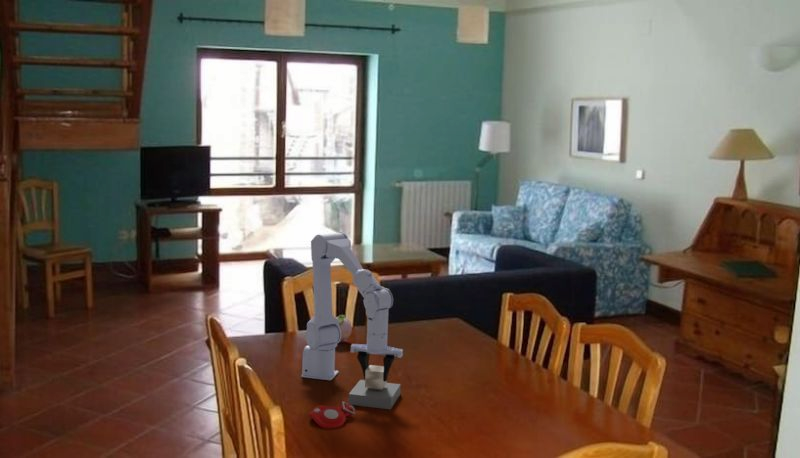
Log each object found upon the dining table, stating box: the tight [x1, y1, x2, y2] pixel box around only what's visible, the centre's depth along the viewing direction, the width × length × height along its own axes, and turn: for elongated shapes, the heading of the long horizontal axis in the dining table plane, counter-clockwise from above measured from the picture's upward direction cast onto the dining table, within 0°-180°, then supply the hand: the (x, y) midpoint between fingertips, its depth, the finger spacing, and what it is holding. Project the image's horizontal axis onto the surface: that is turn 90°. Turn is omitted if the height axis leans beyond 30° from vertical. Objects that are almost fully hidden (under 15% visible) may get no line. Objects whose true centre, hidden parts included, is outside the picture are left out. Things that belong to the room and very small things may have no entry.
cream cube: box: [364, 364, 388, 390], centre depth 225 cm, size 5×5×5 cm
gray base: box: [347, 379, 402, 410], centre depth 225 cm, size 12×12×3 cm
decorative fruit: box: [334, 314, 353, 343], centre depth 276 cm, size 9×8×10 cm
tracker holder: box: [308, 401, 356, 430], centre depth 210 cm, size 12×4×10 cm
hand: (375, 379), depth 224 cm, fingers closed on cream cube, 5 cm apart
